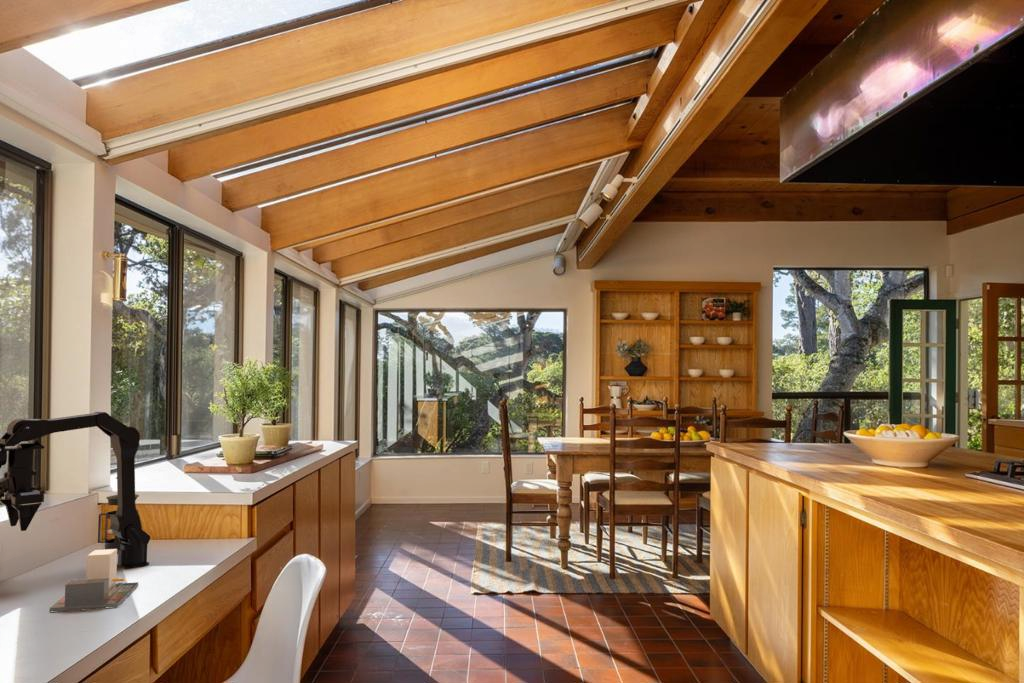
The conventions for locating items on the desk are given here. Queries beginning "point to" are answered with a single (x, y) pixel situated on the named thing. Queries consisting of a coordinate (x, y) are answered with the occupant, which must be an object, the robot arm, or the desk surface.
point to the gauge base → (93, 595)
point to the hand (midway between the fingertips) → (18, 528)
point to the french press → (111, 542)
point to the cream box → (103, 566)
